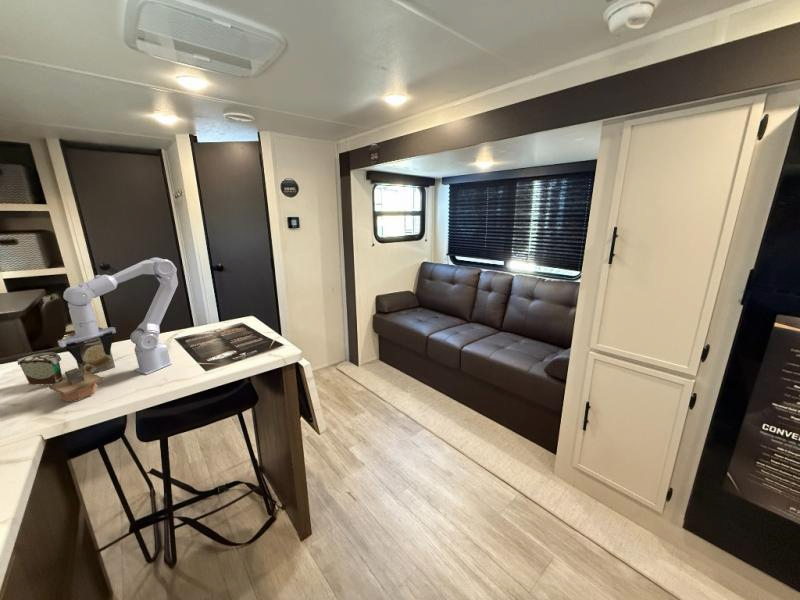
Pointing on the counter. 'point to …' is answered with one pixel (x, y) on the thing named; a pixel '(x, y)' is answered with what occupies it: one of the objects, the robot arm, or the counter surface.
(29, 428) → the counter surface
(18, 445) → the counter surface
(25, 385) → the counter surface
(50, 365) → the food container
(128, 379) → the counter surface
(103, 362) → the coffee box
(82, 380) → the board
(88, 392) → the bowl
